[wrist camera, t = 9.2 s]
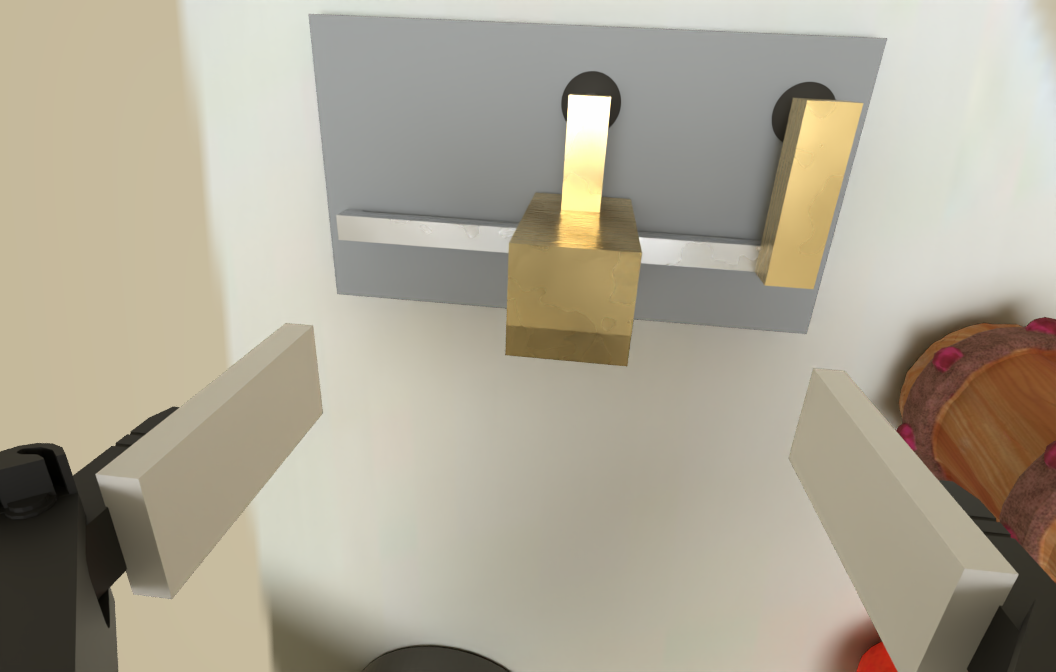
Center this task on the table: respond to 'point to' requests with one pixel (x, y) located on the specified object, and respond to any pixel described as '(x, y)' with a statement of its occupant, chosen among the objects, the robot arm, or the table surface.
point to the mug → (992, 424)
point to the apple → (876, 660)
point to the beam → (777, 259)
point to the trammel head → (575, 257)
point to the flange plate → (540, 138)
